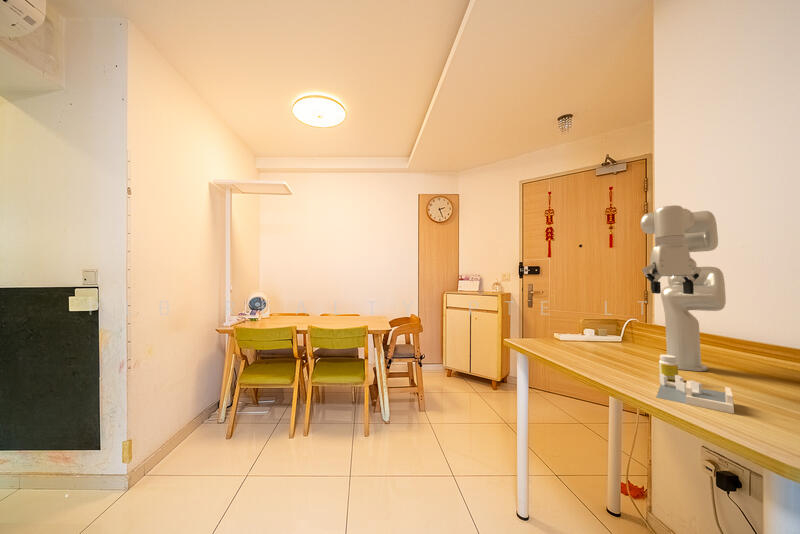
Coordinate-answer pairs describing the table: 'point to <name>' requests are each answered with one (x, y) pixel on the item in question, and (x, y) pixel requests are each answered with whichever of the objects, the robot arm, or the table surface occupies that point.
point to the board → (677, 396)
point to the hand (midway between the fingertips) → (672, 293)
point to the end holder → (710, 403)
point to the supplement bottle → (668, 367)
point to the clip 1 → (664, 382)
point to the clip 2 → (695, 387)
